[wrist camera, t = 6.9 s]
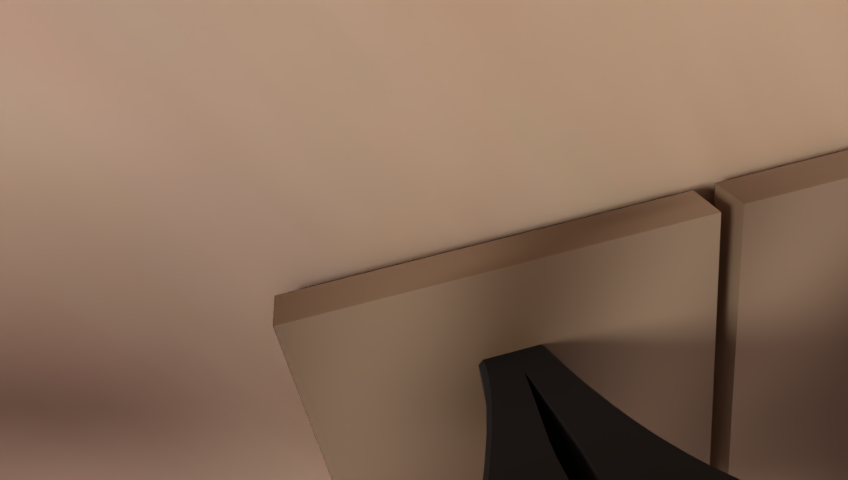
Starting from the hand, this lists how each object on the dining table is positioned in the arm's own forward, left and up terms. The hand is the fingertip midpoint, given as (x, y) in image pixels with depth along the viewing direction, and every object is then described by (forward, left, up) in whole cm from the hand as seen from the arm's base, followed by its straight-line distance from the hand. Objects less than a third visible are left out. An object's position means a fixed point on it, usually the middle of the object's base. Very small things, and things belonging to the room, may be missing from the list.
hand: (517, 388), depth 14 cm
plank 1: (0, +1, -1) cm, 2 cm away
